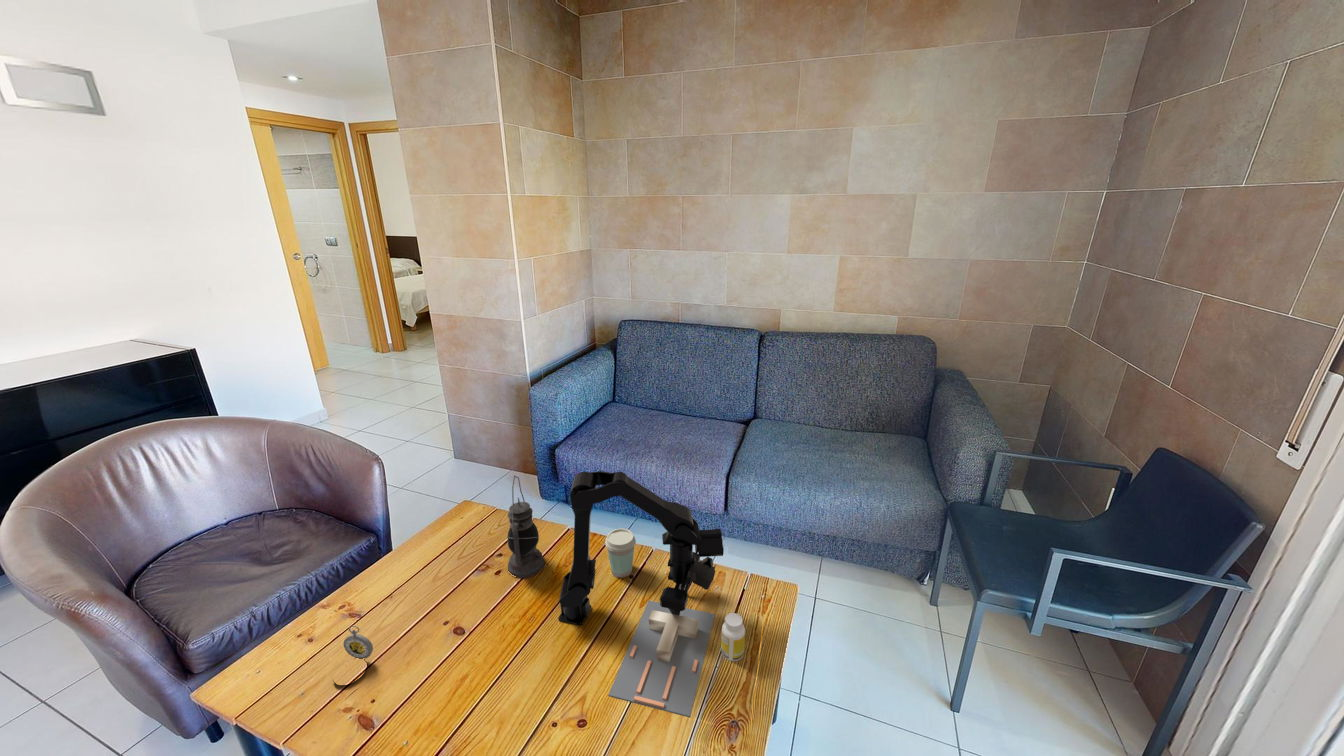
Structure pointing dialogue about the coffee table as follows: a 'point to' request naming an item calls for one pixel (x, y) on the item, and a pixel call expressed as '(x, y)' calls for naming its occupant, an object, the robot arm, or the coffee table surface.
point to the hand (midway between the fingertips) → (681, 604)
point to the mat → (663, 665)
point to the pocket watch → (357, 645)
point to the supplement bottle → (733, 637)
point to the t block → (671, 631)
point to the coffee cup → (620, 551)
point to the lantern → (523, 540)
